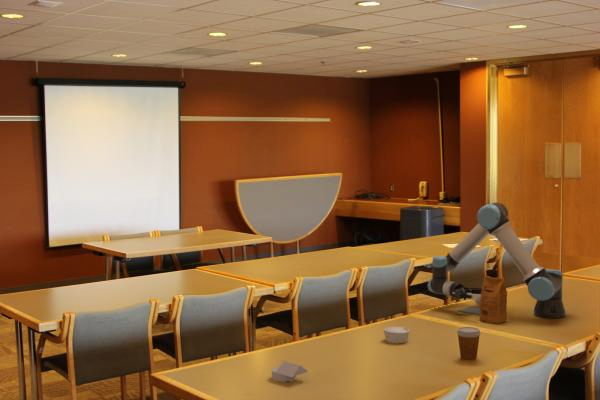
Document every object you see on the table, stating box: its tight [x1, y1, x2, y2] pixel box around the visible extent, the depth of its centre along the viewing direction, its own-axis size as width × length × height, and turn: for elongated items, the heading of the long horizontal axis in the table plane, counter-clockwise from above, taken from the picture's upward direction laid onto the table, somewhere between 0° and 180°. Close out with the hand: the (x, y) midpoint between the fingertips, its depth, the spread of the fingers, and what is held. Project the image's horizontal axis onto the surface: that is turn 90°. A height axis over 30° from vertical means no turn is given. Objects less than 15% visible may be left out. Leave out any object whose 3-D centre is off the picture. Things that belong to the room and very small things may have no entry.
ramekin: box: [383, 326, 410, 345], centre depth 342 cm, size 11×11×5 cm
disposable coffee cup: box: [456, 326, 482, 362], centre depth 314 cm, size 10×10×12 cm
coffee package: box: [479, 275, 508, 325], centre depth 375 cm, size 10×12×22 cm
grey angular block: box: [271, 360, 309, 383], centre depth 290 cm, size 9×7×13 cm
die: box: [473, 294, 481, 308], centre depth 407 cm, size 8×9×10 cm
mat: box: [457, 306, 480, 316], centre depth 395 cm, size 18×12×1 cm, turn 41°
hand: (486, 295), depth 378 cm, fingers open, 13 cm apart
